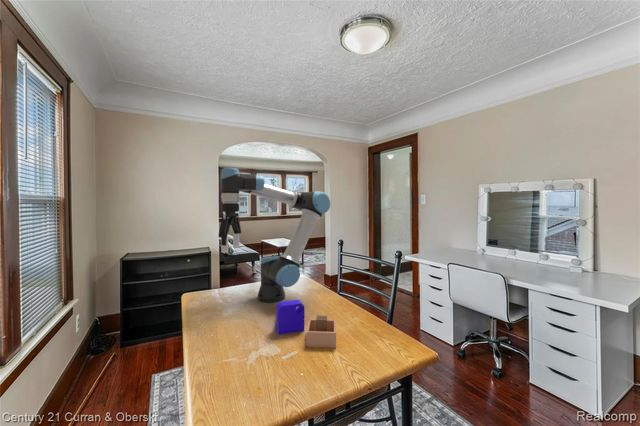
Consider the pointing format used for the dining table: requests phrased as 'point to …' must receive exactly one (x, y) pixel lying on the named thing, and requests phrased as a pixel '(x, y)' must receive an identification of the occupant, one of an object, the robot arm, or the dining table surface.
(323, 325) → the walnut post
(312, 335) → the planter
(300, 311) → the bracket
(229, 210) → the robot arm
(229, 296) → the dining table surface
